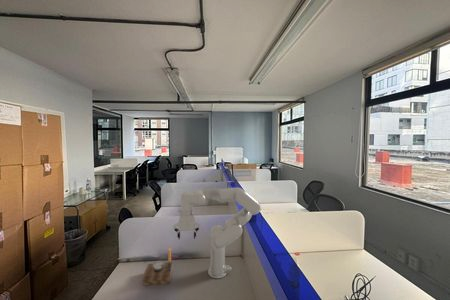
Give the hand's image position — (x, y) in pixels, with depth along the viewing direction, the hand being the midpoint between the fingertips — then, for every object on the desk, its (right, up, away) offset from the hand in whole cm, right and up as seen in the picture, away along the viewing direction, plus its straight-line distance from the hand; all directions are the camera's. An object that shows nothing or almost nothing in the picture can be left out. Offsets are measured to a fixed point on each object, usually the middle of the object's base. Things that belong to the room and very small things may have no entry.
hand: (186, 238), depth 135 cm
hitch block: (-18, -26, 0) cm, 31 cm away
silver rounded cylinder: (-18, -25, 0) cm, 31 cm away
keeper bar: (-12, -11, -1) cm, 16 cm away
